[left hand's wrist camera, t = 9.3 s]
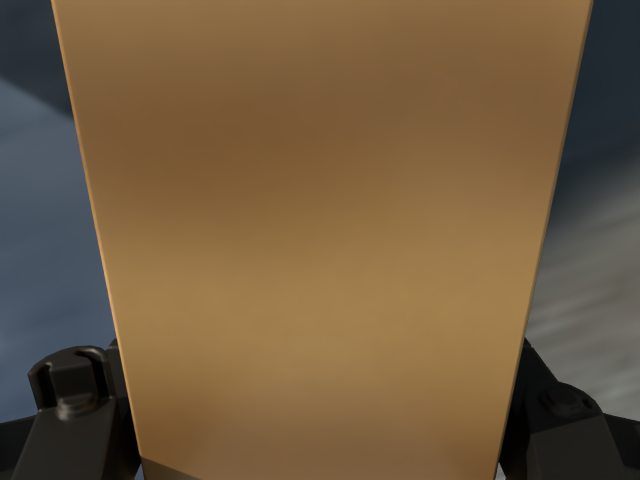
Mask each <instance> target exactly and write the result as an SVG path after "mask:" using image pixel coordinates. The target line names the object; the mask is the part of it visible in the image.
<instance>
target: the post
mask: <svg viewBox="0 0 640 480" xmlns="http://www.w3.org/2000/svg"><path fill="white" fill-rule="evenodd" d="M51 2H52V8H53V13H54V18H55V23H56V28H57V33H58V38H59V43H60V49H61V54H62V59H63V64H64V69H65V74H66V79H67V84H68V90H69V95H70V100H71V105H72V110H73V115H74V120H75V125H76V131H77V136H78V141H79V146H80V151H81V156H82V161H83V166H84V172H85V177H86V182H87V187H88V192H89V197H90V202H91V208H92V213H93V218H94V223H95V228H96V233H97V238H98V243H99V249H100V254H101V259H102V264H103V269H104V274H105V279H106V284H107V290H108V295H109V300H110V305H111V310H112V315H113V320H114V325H115V331H116V336H117V341H118V346H119V351H120V356H121V361H122V366H123V372H124V377H125V382H126V387H127V392H128V397H129V402H130V408H131V413H132V418H133V423H134V428H135V433H136V438H137V443H138V449H139V454H140V459H141V464H142V469H143V474H144V479H145V480H495V478H496V473H497V468H498V463H499V458H500V454H501V449H502V444H503V439H504V434H505V429H506V424H507V420H508V415H509V410H510V405H511V400H512V395H513V391H514V386H515V381H516V376H517V371H518V366H519V361H520V357H521V352H522V347H523V342H524V337H525V332H526V327H527V323H528V318H529V313H530V308H531V303H532V298H533V293H534V289H535V284H536V279H537V274H538V269H539V264H540V259H541V255H542V250H543V245H544V240H545V235H546V230H547V225H548V221H549V216H550V211H551V206H552V201H553V196H554V191H555V187H556V182H557V177H558V172H559V167H560V162H561V157H562V153H563V148H564V143H565V138H566V133H567V128H568V123H569V119H570V114H571V109H572V104H573V99H574V94H575V89H576V85H577V80H578V75H579V70H580V65H581V60H582V56H583V51H584V46H585V41H586V36H587V31H588V26H589V22H590V17H591V12H592V7H593V2H594V0H51Z"/></svg>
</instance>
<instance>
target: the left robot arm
mask: <svg viewBox="0 0 640 480" xmlns="http://www.w3.org/2000/svg"><path fill="white" fill-rule="evenodd" d="M27 375H28V378H29V381H30V385H31V388H32V391H33V395H34V398H35V402H36V405H37V408H38V413H37V415H34V416H30V417H27V418H22V419H18V420H13V421H9V422H4V423H0V480H135V479H134V478H135V475H136V473H137V471H138V469H139V466H140V464H141V459H140V454H139V449H138V443H137V438H136V433H135V428H134V423H133V418H132V413H131V408H130V402H129V397H128V392H127V387H126V382H125V377H124V372H123V366H122V361H121V356H120V351H119V346H118V341H117V336H116V339H114V340H113V341H112V343H111V344H110V346H109V349H107V350H106V351H105V350H103V349H102V348H99V347H95V346H76V347H71V348H67V349H63V350H60V351H58V352H56V353H53V354H51V355H49V356H46V357H45V358H44V359H42V360H41V361H39V362H38V363H36V364H35V365H34V366H33V367H32V369H31V370H30V371H29V372H28V374H27ZM499 463H500V465H501V468H502V470H503V472H504V474H505V477H506V479H505V480H640V421H635V420H631V419H626V418H622V417H617V416H613V415H609V414H606V413H603V412H602V410H601V409H600V407H599V406H598V404H597V403H596V401H595V400H594V399H592V398H591V397H590V396H589V395H587V394H586V393H585V392H584V391H582V390H580V389H578V388H576V387H574V386H572V385H569V384H566V383H562V382H558V381H557V379H556V378H555V377H554V375H553V374H552V372H551V371H550V370H549V368H548V367H547V366H546V364H545V363H544V362H543V360H542V359H541V358H540V356H539V355H538V354H537V352H536V351H535V350H534V348H531V344H530V343H529V342H528V340H527V339H526V338H525V337H524V342H523V347H522V352H521V357H520V361H519V366H518V371H517V376H516V381H515V386H514V391H513V395H512V400H511V405H510V410H509V415H508V420H507V424H506V429H505V434H504V439H503V444H502V449H501V454H500V458H499Z"/></svg>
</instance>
